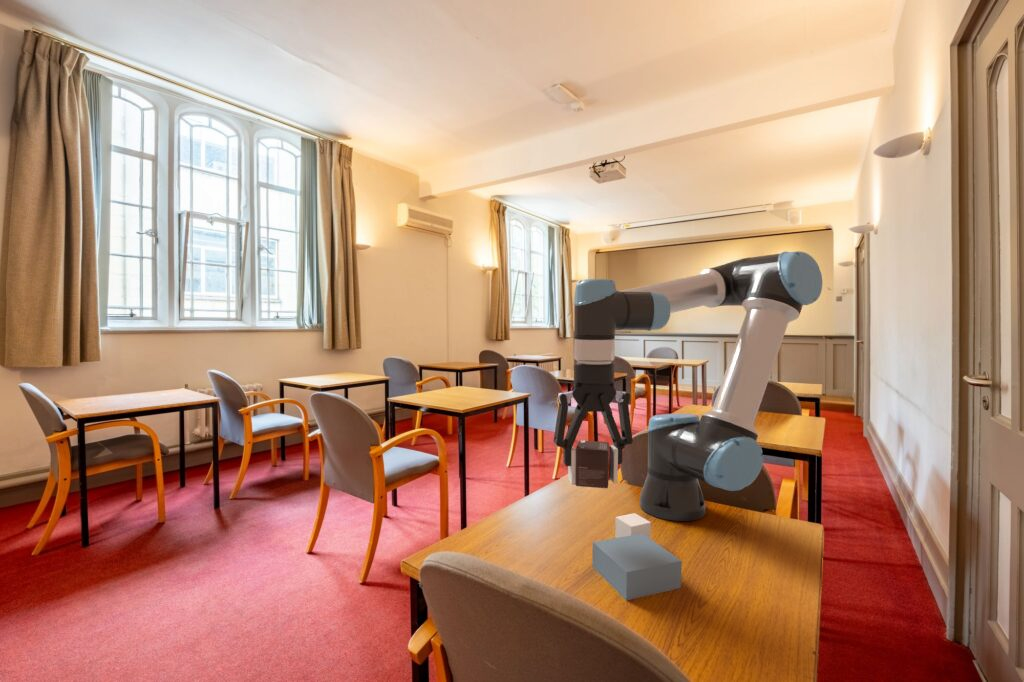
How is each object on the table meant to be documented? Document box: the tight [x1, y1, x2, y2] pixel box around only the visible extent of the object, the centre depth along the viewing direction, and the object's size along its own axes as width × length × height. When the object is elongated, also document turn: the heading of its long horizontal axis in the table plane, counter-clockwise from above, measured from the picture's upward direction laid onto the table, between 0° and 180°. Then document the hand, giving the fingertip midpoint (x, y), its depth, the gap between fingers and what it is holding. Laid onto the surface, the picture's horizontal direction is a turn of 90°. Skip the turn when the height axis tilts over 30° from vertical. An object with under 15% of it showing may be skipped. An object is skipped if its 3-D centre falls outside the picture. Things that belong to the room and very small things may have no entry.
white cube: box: [614, 512, 652, 540], centre depth 96 cm, size 5×5×5 cm
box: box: [575, 440, 610, 489], centre depth 89 cm, size 6×6×7 cm
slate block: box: [591, 533, 683, 601], centre depth 83 cm, size 11×11×5 cm
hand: (592, 481), depth 89 cm, fingers closed on box, 7 cm apart
